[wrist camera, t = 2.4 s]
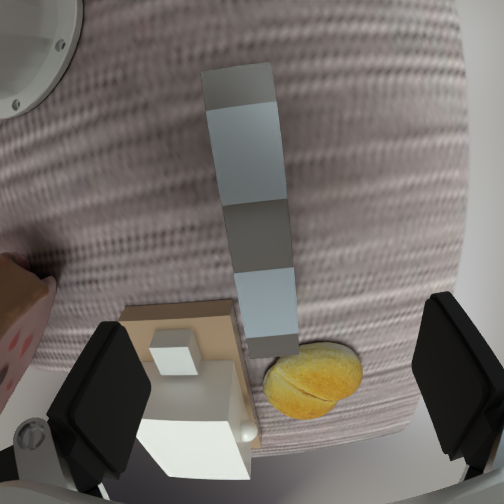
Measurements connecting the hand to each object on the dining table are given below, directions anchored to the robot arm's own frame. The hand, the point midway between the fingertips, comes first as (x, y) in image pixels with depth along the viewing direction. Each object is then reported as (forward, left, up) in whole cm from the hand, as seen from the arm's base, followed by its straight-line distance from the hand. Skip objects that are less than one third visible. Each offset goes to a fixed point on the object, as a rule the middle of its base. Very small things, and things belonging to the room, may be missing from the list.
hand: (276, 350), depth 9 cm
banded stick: (-1, -1, -13) cm, 13 cm away
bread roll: (+17, +2, -14) cm, 22 cm away
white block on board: (+17, -8, -13) cm, 23 cm away
